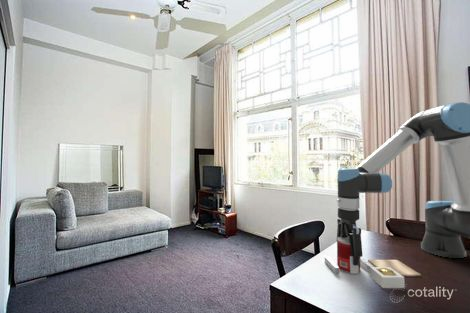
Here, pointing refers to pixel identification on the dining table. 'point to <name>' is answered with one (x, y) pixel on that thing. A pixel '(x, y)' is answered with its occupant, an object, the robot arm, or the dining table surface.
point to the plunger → (386, 271)
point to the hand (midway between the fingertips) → (348, 267)
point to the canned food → (344, 254)
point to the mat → (395, 267)
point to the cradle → (337, 270)
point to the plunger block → (387, 278)
